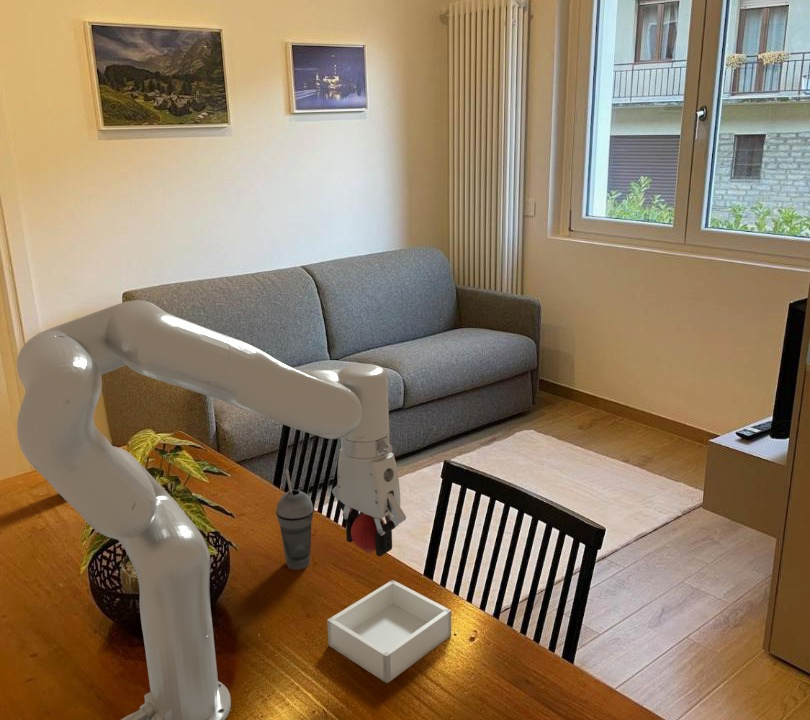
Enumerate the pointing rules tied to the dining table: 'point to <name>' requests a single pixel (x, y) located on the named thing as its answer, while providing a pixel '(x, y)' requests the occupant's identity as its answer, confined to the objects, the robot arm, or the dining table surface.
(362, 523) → the onion
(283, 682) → the dining table surface
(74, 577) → the dining table surface
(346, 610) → the bin
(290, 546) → the beverage cup
